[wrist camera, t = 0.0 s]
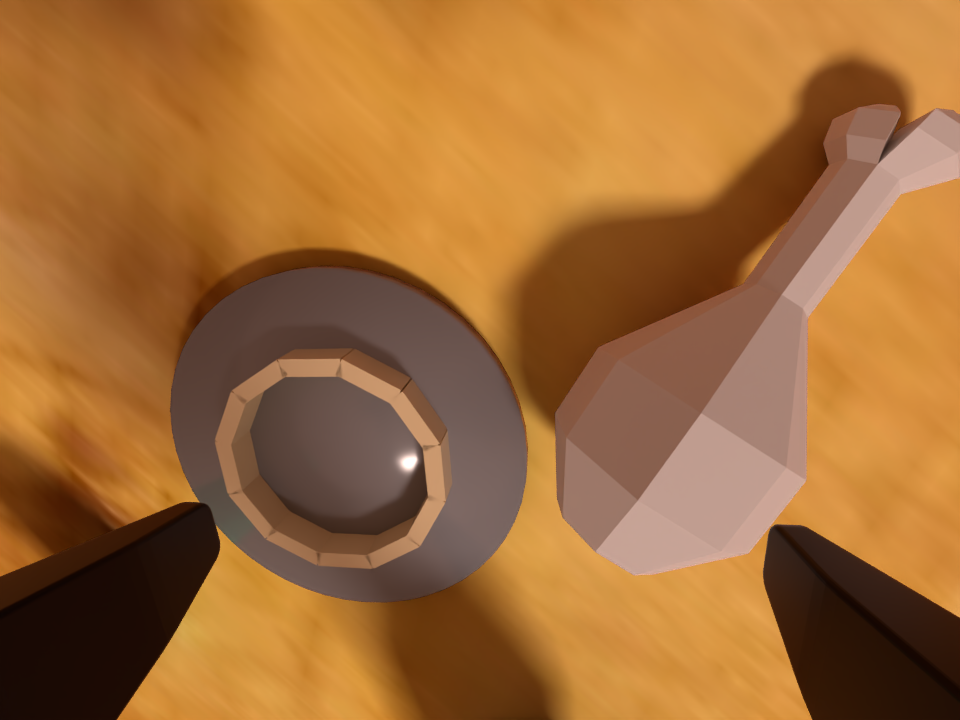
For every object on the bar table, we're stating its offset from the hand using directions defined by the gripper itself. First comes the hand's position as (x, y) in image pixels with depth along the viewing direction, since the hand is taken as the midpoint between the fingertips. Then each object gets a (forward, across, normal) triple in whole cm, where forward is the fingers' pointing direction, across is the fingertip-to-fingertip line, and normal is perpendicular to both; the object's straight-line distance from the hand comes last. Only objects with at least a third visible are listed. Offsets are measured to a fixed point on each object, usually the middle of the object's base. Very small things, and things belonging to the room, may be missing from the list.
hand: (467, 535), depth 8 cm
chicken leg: (+15, -8, 0) cm, 17 cm away
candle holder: (+15, +9, +6) cm, 18 cm away
